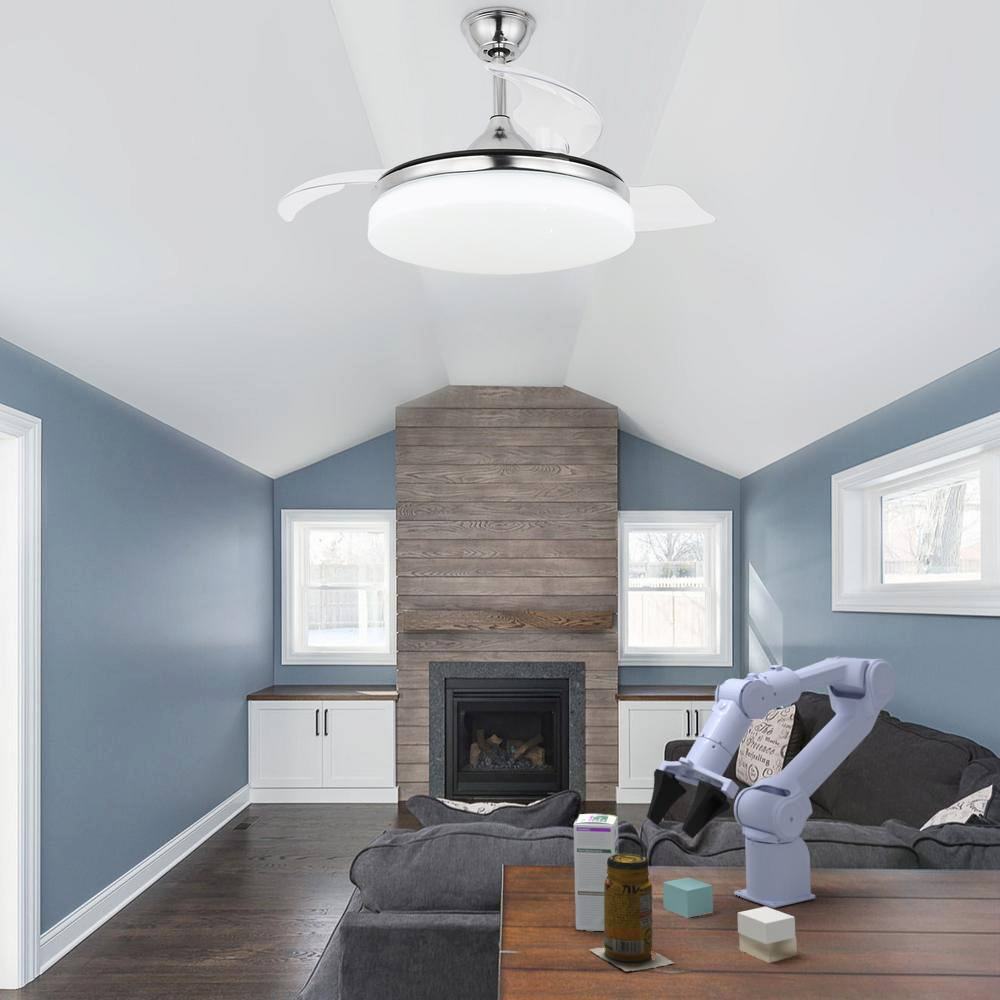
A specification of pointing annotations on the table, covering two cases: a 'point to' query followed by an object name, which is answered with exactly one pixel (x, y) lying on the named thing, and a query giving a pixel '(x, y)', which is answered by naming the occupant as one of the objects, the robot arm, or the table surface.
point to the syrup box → (592, 866)
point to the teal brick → (688, 897)
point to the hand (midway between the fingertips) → (669, 827)
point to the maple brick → (768, 948)
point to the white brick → (766, 925)
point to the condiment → (628, 915)
